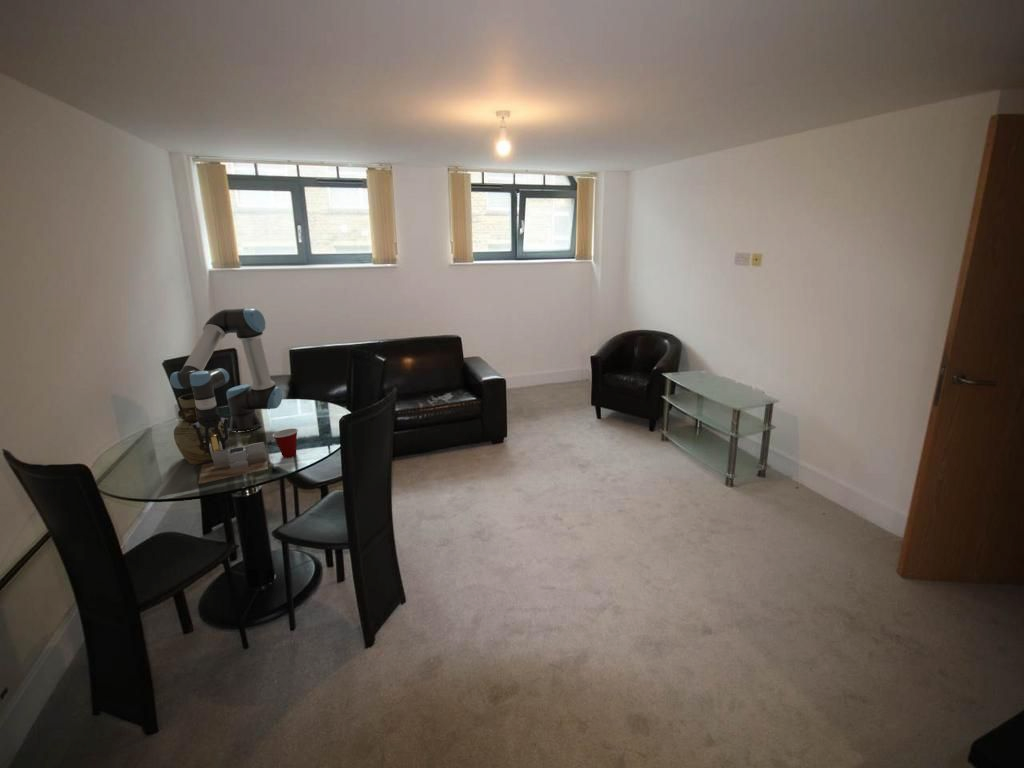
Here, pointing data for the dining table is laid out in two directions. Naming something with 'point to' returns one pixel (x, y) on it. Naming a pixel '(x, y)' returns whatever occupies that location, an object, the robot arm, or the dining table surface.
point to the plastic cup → (287, 442)
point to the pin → (215, 442)
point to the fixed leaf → (250, 456)
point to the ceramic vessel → (192, 432)
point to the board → (228, 471)
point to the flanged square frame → (228, 456)
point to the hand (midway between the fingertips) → (218, 456)
